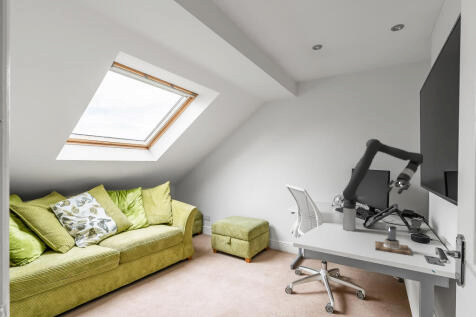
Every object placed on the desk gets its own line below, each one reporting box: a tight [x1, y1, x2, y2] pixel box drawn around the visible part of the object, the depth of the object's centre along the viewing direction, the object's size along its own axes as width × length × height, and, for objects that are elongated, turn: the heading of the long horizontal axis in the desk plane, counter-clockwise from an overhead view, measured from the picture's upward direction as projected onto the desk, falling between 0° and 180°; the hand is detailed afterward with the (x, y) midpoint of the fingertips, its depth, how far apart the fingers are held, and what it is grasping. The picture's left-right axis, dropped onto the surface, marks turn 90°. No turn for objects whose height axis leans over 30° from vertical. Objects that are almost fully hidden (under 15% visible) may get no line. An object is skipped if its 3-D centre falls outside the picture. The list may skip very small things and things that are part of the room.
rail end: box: [386, 225, 397, 242], centre depth 154 cm, size 5×5×12 cm
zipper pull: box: [407, 218, 424, 234], centre depth 195 cm, size 9×7×25 cm
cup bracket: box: [374, 237, 412, 256], centre depth 154 cm, size 18×14×6 cm
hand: (393, 192), depth 175 cm, fingers open, 8 cm apart
